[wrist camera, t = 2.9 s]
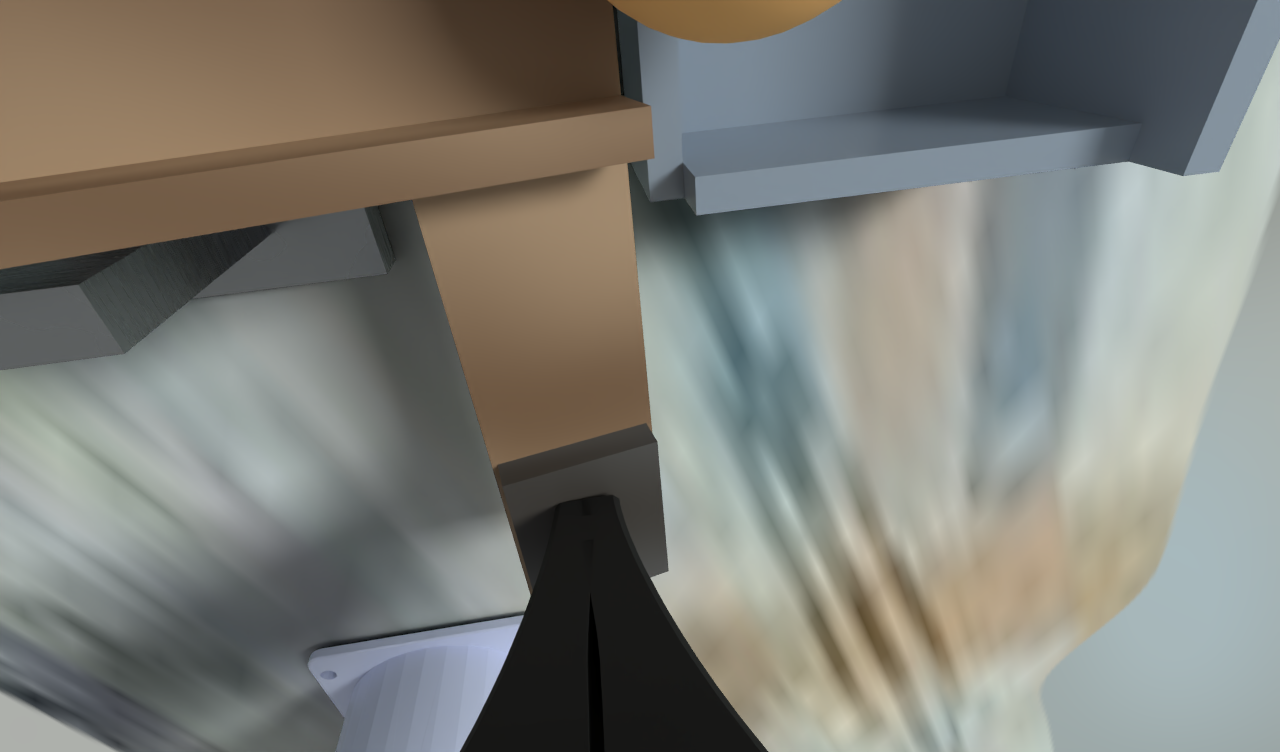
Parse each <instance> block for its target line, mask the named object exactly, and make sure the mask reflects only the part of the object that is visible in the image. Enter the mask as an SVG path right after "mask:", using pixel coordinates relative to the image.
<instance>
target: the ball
mask: <svg viewBox="0 0 1280 752" xmlns="http://www.w3.org/2000/svg"><path fill="white" fill-rule="evenodd" d="M608 1H609V2H610V3H611V4H612V5H613V6H615V7H616V8H617V9H618V10H620V11H621V12H623V13H625V14H626V15H628V16H630V17H631V18H633V19H635V20H636V21H638V22H640V23H641V24H643V25H645V26H647V27H648V28H651V29H653V30H656V31H659V32H661V33H664V34H667V35H669V36H673V37H676V38H680V39H685V40H690V41H695V42H700V43H737V42H744V41H752V40H759V39H762V38H766V37H769V36H772V35H776V34H779V33H783V32H785V31H787V30H790V29H792V28H794V27H796V26H798V25H801V24H803V23H805V22H807V21H809V20H811V19H813V18H815V17H816V16H818V15H820V14H821V13H823V12H824V11H826V10H828V9H829V8H831V7H832V6H834V5H836V4H837V3H839V2H840V1H842V0H608Z"/></svg>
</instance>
